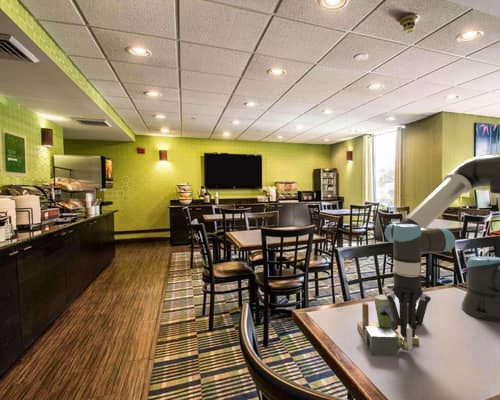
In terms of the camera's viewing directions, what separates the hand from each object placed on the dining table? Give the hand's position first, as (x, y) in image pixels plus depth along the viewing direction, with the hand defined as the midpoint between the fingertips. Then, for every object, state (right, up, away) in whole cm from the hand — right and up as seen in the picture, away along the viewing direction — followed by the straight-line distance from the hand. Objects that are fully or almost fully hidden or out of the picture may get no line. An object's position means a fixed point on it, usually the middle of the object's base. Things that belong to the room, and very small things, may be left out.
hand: (407, 346), depth 84 cm
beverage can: (-2, 0, +10) cm, 10 cm away
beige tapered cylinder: (+13, -1, +18) cm, 22 cm away
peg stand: (-2, -1, +10) cm, 10 cm away
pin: (-6, -1, +1) cm, 6 cm away
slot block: (-8, -2, +1) cm, 8 cm away
